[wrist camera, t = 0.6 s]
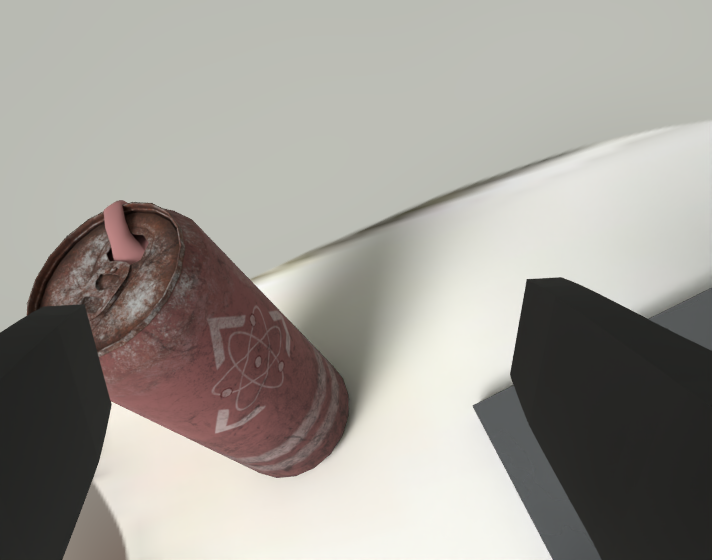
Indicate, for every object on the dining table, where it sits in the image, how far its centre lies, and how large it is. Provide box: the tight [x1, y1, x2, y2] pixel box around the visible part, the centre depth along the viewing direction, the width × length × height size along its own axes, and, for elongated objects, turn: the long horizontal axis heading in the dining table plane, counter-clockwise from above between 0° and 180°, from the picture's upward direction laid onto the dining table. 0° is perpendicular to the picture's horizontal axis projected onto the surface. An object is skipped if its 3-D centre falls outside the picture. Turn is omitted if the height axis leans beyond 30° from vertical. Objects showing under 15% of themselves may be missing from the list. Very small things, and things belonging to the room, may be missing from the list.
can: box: [27, 200, 348, 478], centre depth 23 cm, size 6×6×14 cm
